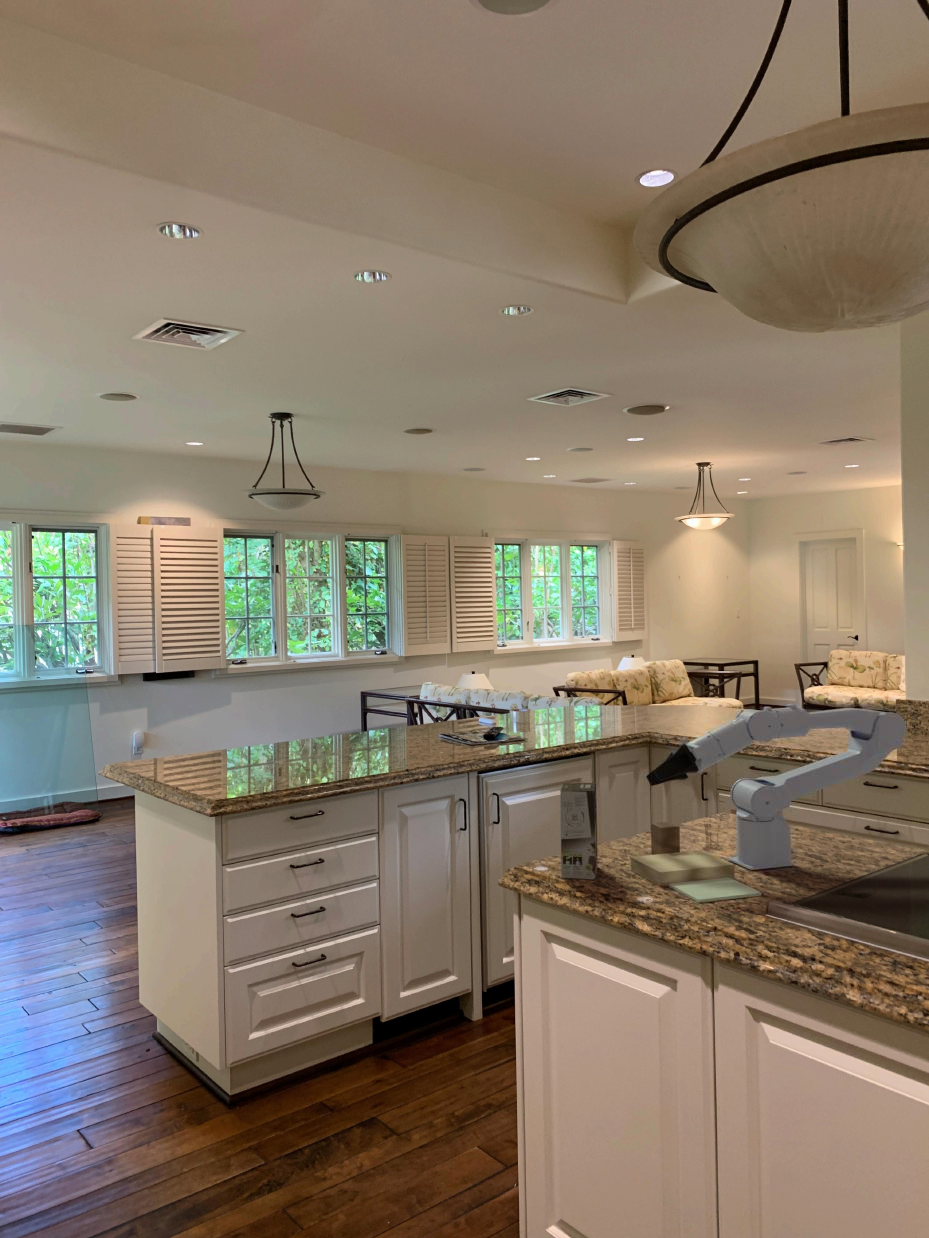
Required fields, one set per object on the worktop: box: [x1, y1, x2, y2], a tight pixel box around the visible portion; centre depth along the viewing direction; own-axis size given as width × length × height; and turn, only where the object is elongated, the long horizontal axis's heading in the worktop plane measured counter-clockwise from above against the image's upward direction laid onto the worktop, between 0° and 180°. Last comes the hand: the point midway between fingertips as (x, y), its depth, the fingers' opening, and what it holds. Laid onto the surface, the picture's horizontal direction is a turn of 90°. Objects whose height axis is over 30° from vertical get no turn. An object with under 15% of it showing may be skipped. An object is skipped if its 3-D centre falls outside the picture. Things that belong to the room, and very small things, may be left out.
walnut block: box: [650, 821, 681, 855], centre depth 172 cm, size 4×4×7 cm
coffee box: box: [560, 782, 599, 881], centre depth 165 cm, size 9×6×16 cm
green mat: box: [668, 877, 762, 904], centre depth 152 cm, size 12×10×1 cm
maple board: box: [630, 849, 736, 888], centre depth 162 cm, size 15×11×2 cm
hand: (652, 778), depth 166 cm, fingers open, 7 cm apart
